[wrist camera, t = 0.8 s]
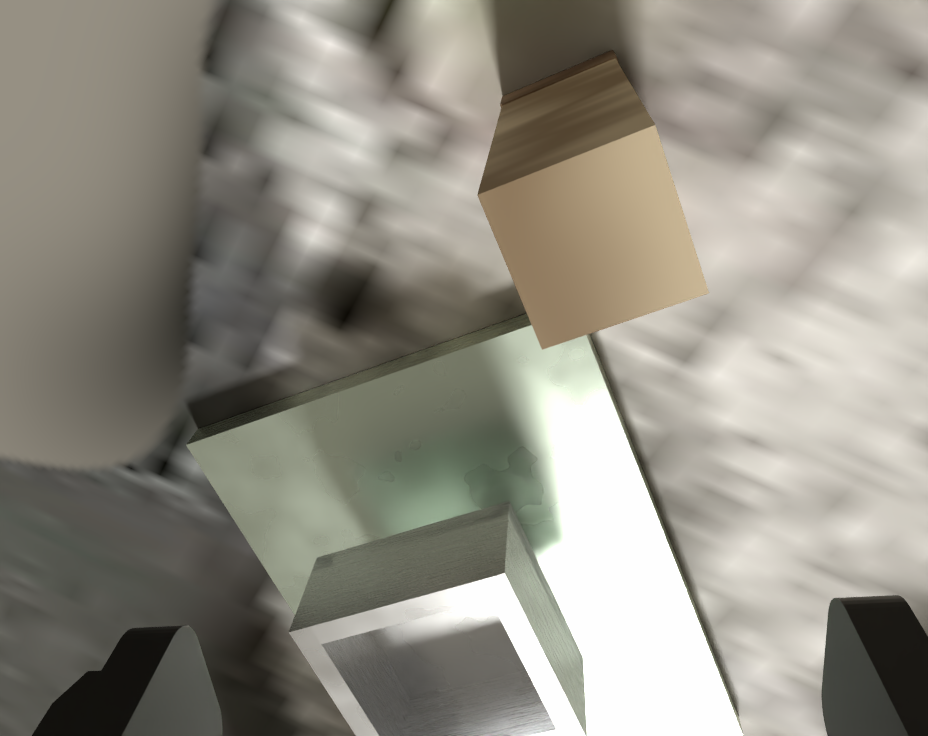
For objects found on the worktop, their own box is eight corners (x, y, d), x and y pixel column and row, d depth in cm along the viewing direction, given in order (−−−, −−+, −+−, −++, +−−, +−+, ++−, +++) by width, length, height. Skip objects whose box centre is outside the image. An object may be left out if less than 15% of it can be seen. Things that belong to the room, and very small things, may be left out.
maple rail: (612, 50, 27) (656, 121, 16) (648, 160, 28) (711, 294, 17) (502, 96, 27) (474, 193, 17) (542, 201, 29) (540, 352, 18)
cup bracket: (574, 296, 30) (584, 405, 23) (739, 718, 39) (782, 893, 31) (197, 429, 34) (105, 557, 27) (420, 785, 43) (395, 955, 35)
